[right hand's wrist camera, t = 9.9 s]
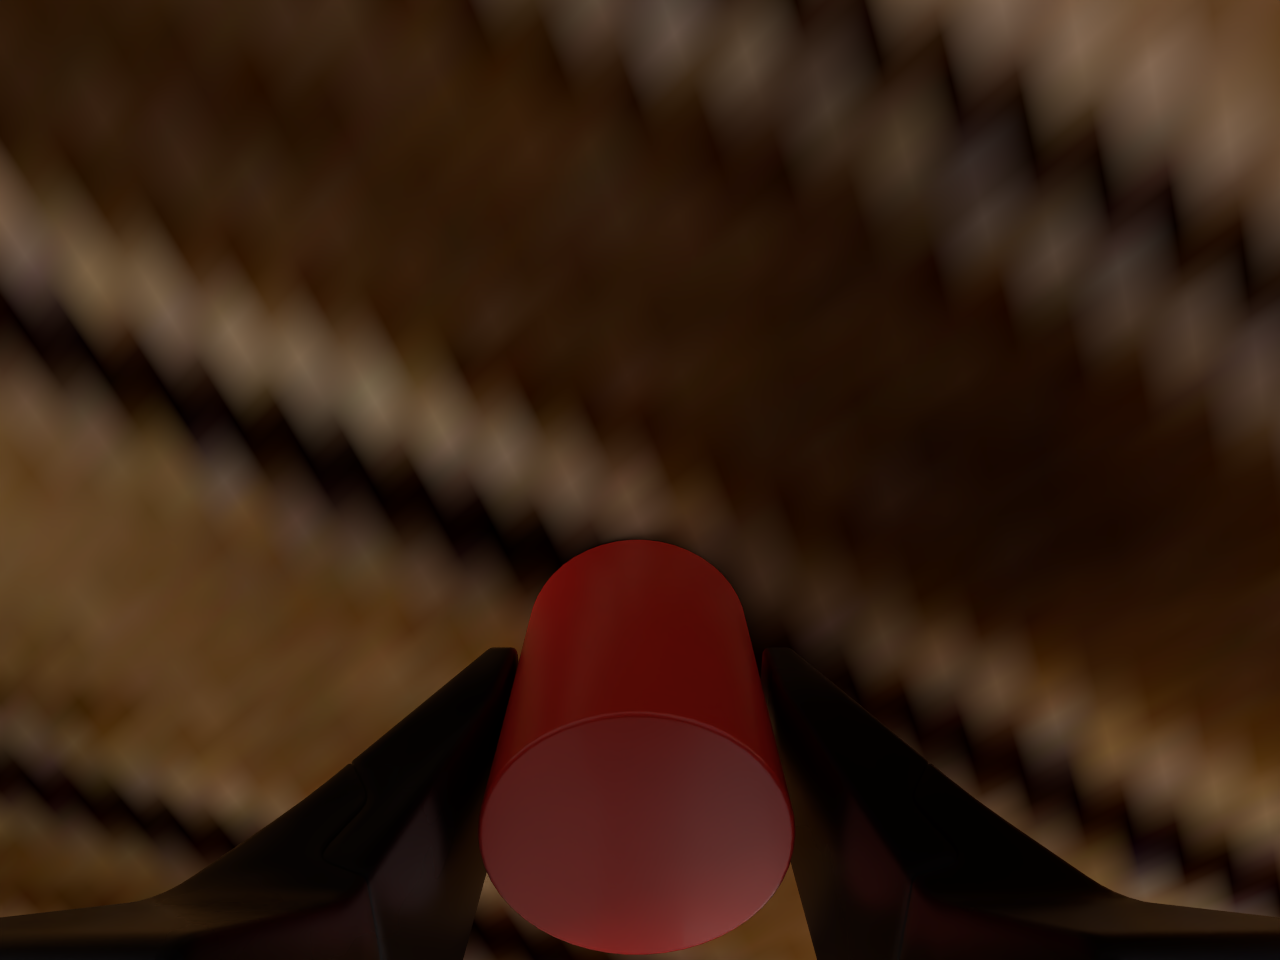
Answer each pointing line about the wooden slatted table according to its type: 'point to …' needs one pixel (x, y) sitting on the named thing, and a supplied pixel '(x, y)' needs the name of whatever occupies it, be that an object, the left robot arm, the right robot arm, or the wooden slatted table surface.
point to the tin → (637, 759)
